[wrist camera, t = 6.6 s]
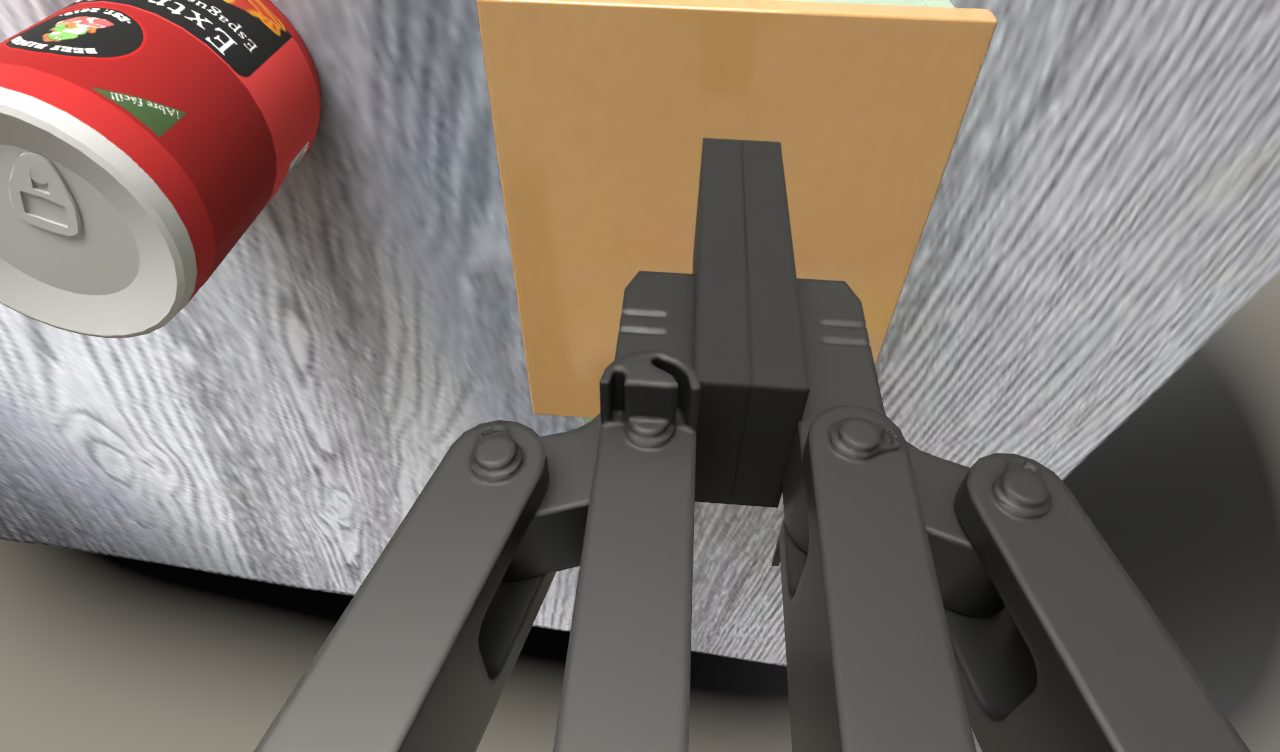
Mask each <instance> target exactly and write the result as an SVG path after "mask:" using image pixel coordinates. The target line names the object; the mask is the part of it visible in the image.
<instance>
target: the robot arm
mask: <svg viewBox="0 0 1280 752" xmlns="http://www.w3.org/2000/svg"><path fill="white" fill-rule="evenodd" d="M869 343H870V340H869V336H868V331H867V328H866V321H865V317H864V312H863V307H862V302H861V300H860V299H859V298H858V297H857V296H856V294H855V293H854V292H853V291H852V289H851V288H850V287H849V286H848V284H847V283H846V282H845V281H834V280H817V279H801V278H797V276H796V268H795V259H794V251H793V242H792V234H791V226H790V217H789V209H788V200H787V192H786V183H785V175H784V167H783V158H782V150H781V142H772V141H753V140H734V139H715V138H703V144H702V156H701V168H700V180H699V192H698V203H697V215H696V227H695V239H694V251H693V273H692V274H685V273H669V272H652V271H639V272H638V273H637V274H636V276H635V277H634V278H633V279H632V280H631V282H630V283H629V284H628V285H627V287H626V288H625V290H624V297H623V304H622V313H621V318H620V325H619V332H618V339H617V346H616V353H615V360H614V361H613V362H612V363H611V364H610V365H609V366H608V367H606V368H605V370H604V373H603V375H602V377H601V380H600V382H599V384H600V414H599V415H597V416H596V417H595V418H594V419H593V420H592V421H590V422H589V423H587V424H585V425H583V426H581V427H579V428H577V429H574V430H570V431H567V432H563V433H558V434H553V435H548V436H543V437H539V436H538V435H537V434H536V433H535V431H534V430H533V429H531V428H529V427H527V426H525V425H522V424H520V423H518V422H511V421H501V420H498V421H493V422H488V423H483V424H479V425H477V426H476V427H474V428H472V429H470V430H468V431H466V432H464V433H463V434H462V435H461V436H460V437H459V438H458V439H457V440H456V441H455V442H454V444H453V445H452V446H451V447H450V449H449V450H448V452H447V453H446V455H445V456H444V458H443V460H442V461H441V463H440V464H439V466H438V467H437V469H436V470H435V472H434V473H433V475H432V477H431V478H430V480H429V481H428V483H427V484H426V486H425V487H424V489H423V490H422V492H421V494H420V495H419V497H418V498H417V500H416V501H415V503H414V504H413V506H412V507H411V509H410V511H409V512H408V514H407V515H406V517H405V518H404V520H403V521H402V523H401V524H400V526H399V528H398V529H397V531H396V532H395V534H394V535H393V537H392V538H391V540H390V541H389V543H388V545H387V546H386V548H385V549H384V551H383V552H382V554H381V555H380V557H379V558H378V560H377V562H376V563H375V565H374V566H373V568H372V569H371V571H370V572H369V574H368V575H367V577H366V579H365V580H364V582H363V583H362V585H361V586H360V588H359V589H358V591H357V593H356V594H355V596H354V597H353V599H352V600H351V602H350V603H349V605H348V606H347V608H346V610H345V611H344V613H343V614H342V616H341V617H340V619H339V620H338V622H337V623H336V625H335V627H334V628H333V630H332V631H331V633H330V634H329V636H328V637H327V639H326V640H325V642H324V644H323V645H322V647H321V648H320V650H319V651H318V653H317V654H316V656H315V658H314V659H313V661H312V662H311V664H310V665H309V667H308V668H307V670H306V671H305V673H304V675H303V676H302V678H301V679H300V681H299V682H298V684H297V685H296V687H295V688H294V690H293V691H292V693H291V695H290V696H289V698H288V699H287V701H286V703H285V704H284V705H283V707H282V708H281V710H280V712H279V713H278V715H277V716H276V718H275V720H274V721H273V722H272V724H271V725H270V727H269V729H268V730H267V732H266V733H265V735H264V737H263V738H262V739H261V741H260V743H259V744H258V746H257V747H256V749H255V750H254V752H476V750H477V747H478V745H479V743H480V741H481V739H482V736H483V734H484V732H485V730H486V727H487V725H488V723H489V721H490V718H491V716H492V714H493V712H494V710H495V707H496V705H497V703H498V701H499V698H500V696H501V694H502V692H503V690H504V687H505V685H506V683H507V680H508V678H509V676H510V674H511V672H512V669H513V667H514V665H515V663H516V661H517V658H518V656H519V654H520V652H521V649H522V647H523V645H524V642H525V640H526V638H527V635H528V634H529V631H530V629H531V627H532V625H533V623H534V620H535V618H536V616H537V614H538V611H539V609H540V607H541V605H542V602H543V600H544V598H545V596H546V594H547V591H548V589H549V587H550V585H551V582H552V580H553V578H554V576H555V573H556V571H560V570H565V569H569V568H573V567H577V566H580V570H579V576H578V583H577V590H576V597H575V604H574V611H573V618H572V625H571V631H570V638H569V646H568V652H567V659H566V666H565V673H564V679H563V687H562V693H561V700H560V707H559V714H558V721H557V727H556V734H555V741H554V748H553V752H688V740H689V701H690V661H691V660H690V659H691V622H692V583H693V543H694V504H695V502H708V503H722V504H735V505H749V506H763V507H776V508H778V506H779V502H780V498H781V494H782V491H783V504H784V519H783V523H782V526H781V530H780V533H779V537H778V540H777V544H776V547H775V551H774V555H773V561H772V566H779V564H780V562H781V578H782V594H783V610H784V626H785V642H786V658H787V674H788V690H789V707H790V723H791V738H792V752H976V748H975V743H974V738H973V734H972V730H973V732H974V734H975V736H976V739H977V741H978V743H979V745H980V747H981V750H982V752H1250V750H1249V749H1248V747H1247V746H1246V744H1245V743H1244V742H1243V740H1242V739H1241V737H1240V736H1239V734H1238V733H1237V731H1236V730H1235V729H1234V727H1233V725H1232V724H1231V723H1230V721H1229V720H1228V718H1227V717H1226V715H1225V714H1224V712H1223V711H1222V710H1221V708H1220V707H1219V705H1218V704H1217V702H1216V701H1215V700H1214V698H1213V697H1212V695H1211V694H1210V692H1209V691H1208V689H1207V688H1206V686H1205V685H1204V684H1203V682H1202V681H1201V679H1200V678H1199V676H1198V675H1197V674H1196V672H1195V671H1194V669H1193V668H1192V666H1191V665H1190V663H1189V662H1188V660H1187V659H1186V657H1185V656H1184V655H1183V653H1182V652H1181V650H1180V649H1179V647H1178V646H1177V645H1176V643H1175V642H1174V640H1173V639H1172V637H1171V636H1170V634H1169V633H1168V631H1167V630H1166V629H1165V627H1164V626H1163V624H1162V623H1161V621H1160V620H1159V618H1158V617H1157V616H1156V614H1155V613H1154V611H1153V610H1152V608H1151V607H1150V605H1149V604H1148V603H1147V601H1146V600H1145V598H1144V597H1143V595H1142V594H1141V592H1140V591H1139V589H1138V588H1137V587H1136V585H1135V584H1134V582H1133V581H1132V579H1131V578H1130V576H1129V575H1128V574H1127V572H1126V571H1125V569H1124V568H1123V566H1122V565H1121V564H1120V562H1119V560H1118V559H1117V558H1116V556H1115V555H1114V554H1113V552H1112V550H1111V549H1110V547H1109V546H1108V545H1107V543H1106V542H1105V540H1104V539H1103V538H1102V536H1101V535H1100V533H1099V532H1098V530H1097V529H1096V527H1095V526H1094V524H1093V523H1092V521H1091V520H1090V519H1089V517H1088V516H1087V514H1086V513H1085V512H1084V510H1083V508H1082V507H1081V505H1080V504H1079V503H1078V501H1077V500H1076V498H1075V497H1074V495H1073V494H1072V492H1071V491H1070V490H1069V488H1068V487H1067V486H1066V485H1065V484H1064V483H1063V482H1062V480H1061V479H1060V478H1059V477H1058V476H1057V475H1056V474H1055V473H1054V472H1053V471H1051V470H1049V469H1048V468H1046V467H1045V466H1043V465H1041V464H1040V463H1038V462H1037V461H1035V460H1032V459H1029V458H1026V457H1022V456H1019V455H1016V454H1002V453H994V454H991V455H988V456H985V457H982V458H979V460H978V461H977V462H976V463H975V464H974V465H973V466H972V467H971V468H969V467H966V466H963V465H960V464H956V463H953V462H950V461H947V460H944V459H941V458H938V457H935V456H933V455H930V454H928V453H926V452H923V451H921V450H919V449H917V448H916V447H914V446H913V445H911V444H909V443H908V442H906V441H905V439H904V437H903V434H902V432H901V430H900V429H899V428H898V427H897V426H896V425H895V424H894V423H893V422H892V421H891V420H890V419H889V418H888V417H887V416H886V414H885V411H884V407H883V402H882V397H881V393H880V388H879V383H878V378H877V374H876V369H875V364H874V359H873V355H872V350H871V346H869ZM971 728H972V730H971Z"/></svg>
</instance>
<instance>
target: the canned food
mask: <svg viewBox="0 0 1280 752" xmlns="http://www.w3.org/2000/svg"><path fill="white" fill-rule="evenodd" d="M320 113H321V90H320V84H319V78H318V74H317V71H316V68H315V66H314V63H313V60H312V57H311V55H310V53H309V51H308V50H307V48H306V46H305V44H304V42H303V40H302V39H301V37H300V35H299V34H298V33H297V31H296V30H295V29H294V27H293V26H292V25H291V23H290V22H289V21H288V19H287V18H286V17H285V16H284V15H283V14H282V13H281V12H280V11H279V10H278V9H277V8H276V7H275V6H274V5H273V4H272V3H271V2H270V1H269V0H78V1H76V2H74V3H73V4H71V5H69V6H67V7H65V8H63V9H62V10H60V11H58V12H56V13H54V14H53V15H51V16H49V17H47V18H45V19H43V20H42V21H40V22H38V23H36V24H34V25H32V26H31V27H29V28H27V29H25V30H23V31H22V32H20V33H18V34H16V35H14V36H12V37H11V38H9V39H7V40H5V41H3V42H2V43H0V303H2V304H3V305H5V306H7V307H9V308H11V309H13V310H15V311H17V312H19V313H21V314H24V315H26V316H28V317H30V318H32V319H35V320H37V321H40V322H43V323H45V324H48V325H51V326H53V327H56V328H59V329H63V330H67V331H71V332H74V333H78V334H82V335H89V336H96V337H104V338H129V337H134V336H139V335H143V334H148V333H150V332H152V331H154V330H156V329H159V328H161V327H163V326H164V325H165V324H166V323H168V322H169V321H170V320H171V319H172V318H173V317H174V316H175V315H176V314H177V313H178V312H179V311H180V310H182V309H183V308H184V307H185V306H186V305H187V304H188V302H189V301H190V300H191V299H192V297H193V296H194V295H195V294H196V292H197V291H198V290H199V289H200V288H201V287H202V286H203V284H204V283H205V282H206V281H207V280H208V279H209V277H210V276H211V275H212V273H213V272H214V271H215V270H216V268H217V267H218V266H219V265H220V263H221V262H222V261H223V259H224V258H225V257H226V256H227V254H228V253H229V252H230V250H231V249H232V248H233V247H234V245H235V244H236V243H237V242H238V240H239V239H240V238H241V236H242V235H243V234H244V233H245V231H246V230H247V229H248V227H249V226H250V225H251V224H252V222H253V221H254V220H255V219H256V217H257V216H258V215H259V213H260V212H261V211H262V210H263V208H264V207H265V206H266V205H267V203H268V202H269V201H270V199H271V198H272V197H273V196H274V194H275V193H276V192H277V190H278V189H279V188H280V187H281V185H282V184H283V183H284V182H285V180H286V179H287V178H288V176H289V175H290V174H291V173H292V171H293V170H294V169H295V168H296V166H297V165H298V164H299V162H300V161H301V160H302V159H303V157H304V156H305V155H306V153H307V152H308V150H309V149H310V147H311V145H312V143H313V141H314V140H315V137H316V133H317V129H318V125H319V120H320Z"/></svg>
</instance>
